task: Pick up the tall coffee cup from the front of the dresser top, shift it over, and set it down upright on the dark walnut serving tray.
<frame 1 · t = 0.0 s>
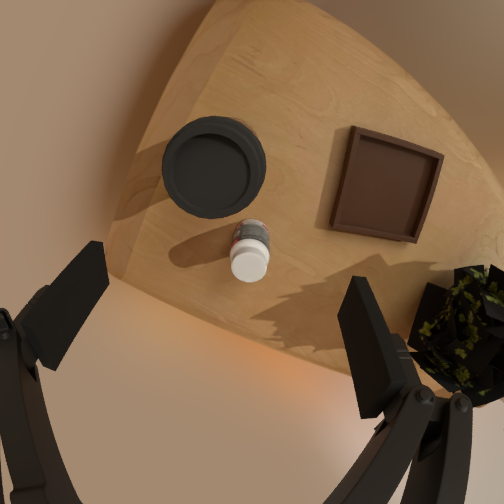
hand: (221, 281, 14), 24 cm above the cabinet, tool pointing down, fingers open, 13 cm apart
tray: (387, 186, 35), on the cabinet
pill bottle: (251, 233, 40), on the cabinet
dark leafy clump: (454, 294, 44), on the cabinet
coffee cup: (231, 142, 34), on the cabinet
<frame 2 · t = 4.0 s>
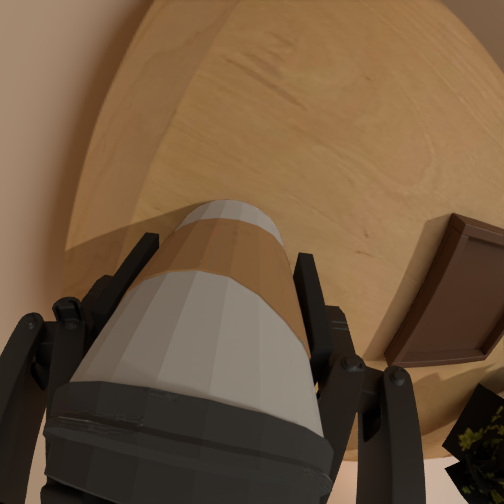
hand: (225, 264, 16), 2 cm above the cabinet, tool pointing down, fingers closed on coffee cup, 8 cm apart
tray: (473, 299, 19), on the cabinet
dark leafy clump: (499, 384, 28), on the cabinet
coffee cup: (230, 243, 18), on the cabinet, touching gripper
when the fingers open (3 cm above the cabinet, at t = 11.8 s): coffee cup stays where it is, resting on tray.
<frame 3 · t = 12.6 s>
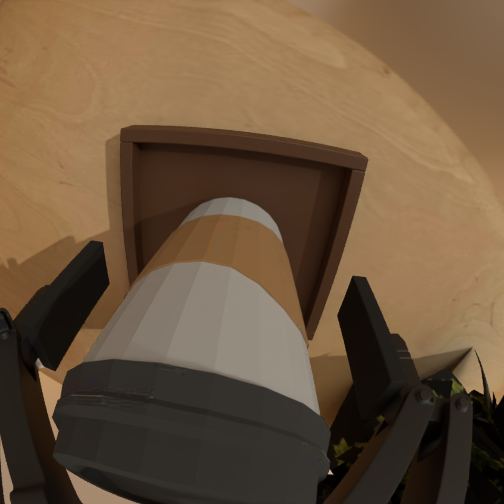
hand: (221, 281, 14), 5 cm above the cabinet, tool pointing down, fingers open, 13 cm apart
tray: (231, 237, 19), on the cabinet
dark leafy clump: (409, 386, 28), on the cabinet
coffee cup: (231, 240, 18), resting on tray
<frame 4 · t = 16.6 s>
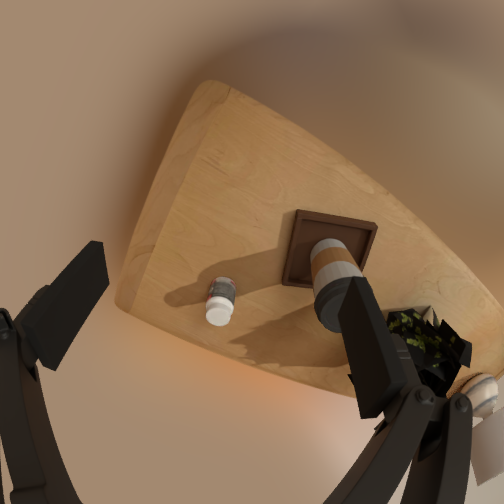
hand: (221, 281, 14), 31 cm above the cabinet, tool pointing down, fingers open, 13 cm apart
tray: (327, 252, 48), on the cabinet
pill bottle: (223, 285, 53), on the cabinet
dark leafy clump: (398, 326, 57), on the cabinet
coffee cup: (328, 253, 48), resting on tray
lamp: (473, 381, 73), on the cabinet
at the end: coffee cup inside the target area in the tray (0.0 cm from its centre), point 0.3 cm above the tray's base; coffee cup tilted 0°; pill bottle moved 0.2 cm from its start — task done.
